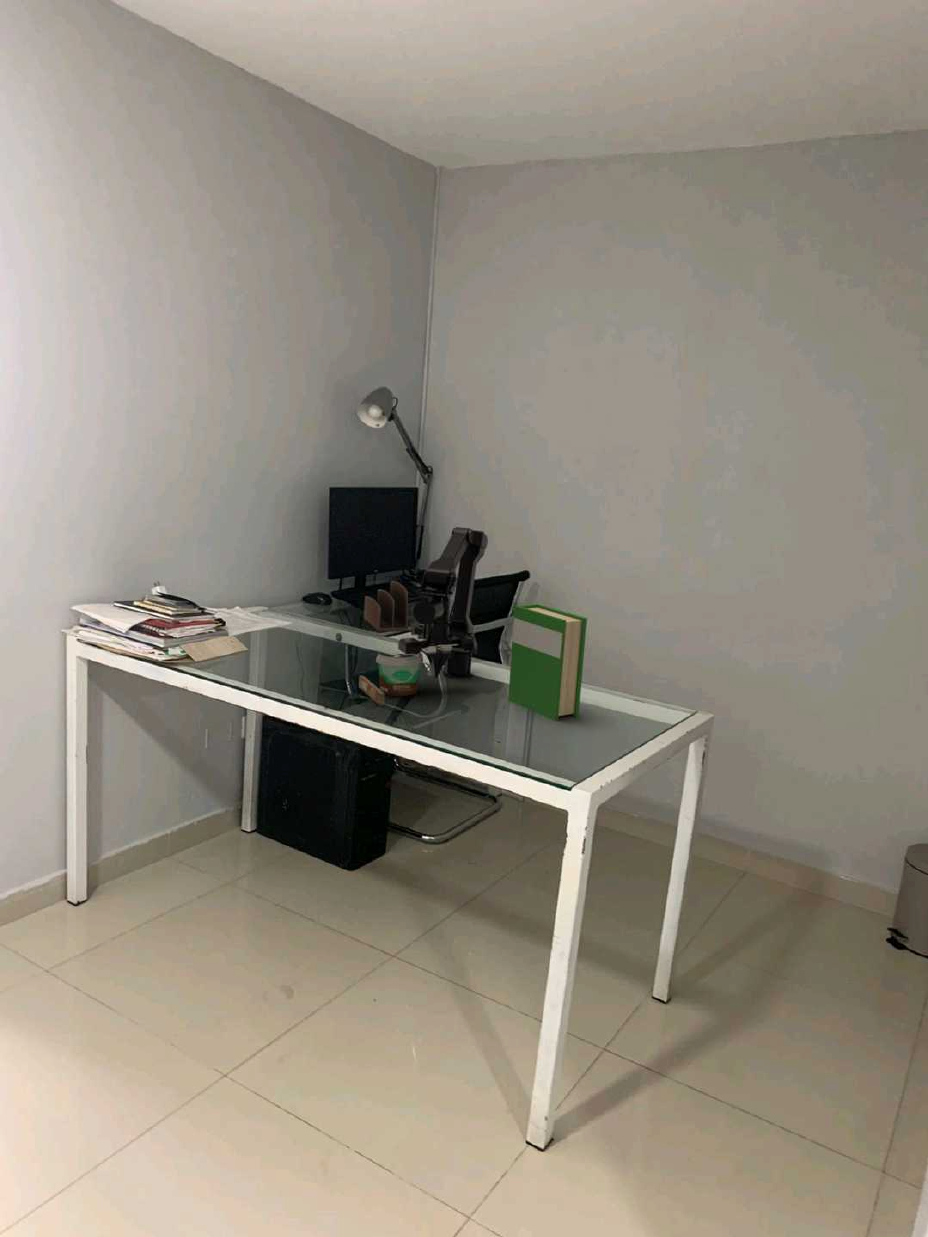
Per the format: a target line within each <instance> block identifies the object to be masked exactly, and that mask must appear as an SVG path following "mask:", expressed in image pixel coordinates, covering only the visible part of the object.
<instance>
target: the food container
mask: <svg viewBox="0 0 928 1237" xmlns="http://www.w3.org/2000/svg"><path fill="white" fill-rule="evenodd" d="M375 662H376V663H378V666H377V667H378V677H379V689H380V690H381V691H382V692H383V693H384V694H385V695H386V696H392V697H407V696H412V695H414V694H416V693H417V691H418V690H417V689H418V682H419V675H420V669H421V668H420V667H421V664H422V663H423V662H424V657H423V653H422V652H421V651H420V652H419V653H418V654H405V653H397V654H393V655H387V656H386V655H382V654H380V653H377V656H376V660H375Z"/></svg>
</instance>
